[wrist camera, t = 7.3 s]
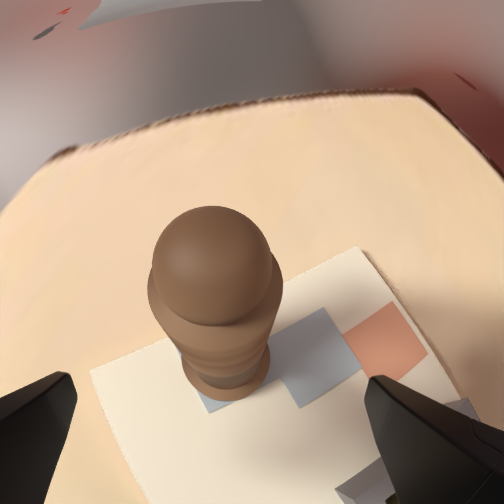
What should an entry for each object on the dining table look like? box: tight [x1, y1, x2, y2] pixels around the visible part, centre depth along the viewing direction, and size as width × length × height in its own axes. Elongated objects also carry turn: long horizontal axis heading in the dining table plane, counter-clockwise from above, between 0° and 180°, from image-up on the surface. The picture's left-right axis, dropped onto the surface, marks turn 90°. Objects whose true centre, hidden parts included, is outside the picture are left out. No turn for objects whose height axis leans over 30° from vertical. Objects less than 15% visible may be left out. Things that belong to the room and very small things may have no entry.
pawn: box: [147, 206, 283, 401], centre depth 12 cm, size 5×5×13 cm
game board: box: [89, 245, 481, 504], centre depth 13 cm, size 23×21×4 cm
